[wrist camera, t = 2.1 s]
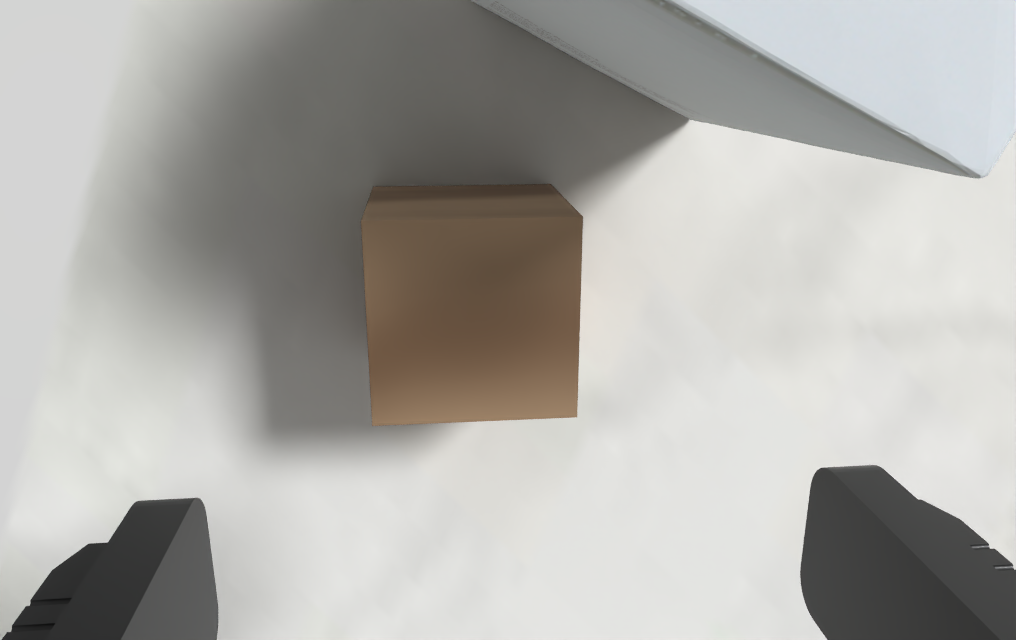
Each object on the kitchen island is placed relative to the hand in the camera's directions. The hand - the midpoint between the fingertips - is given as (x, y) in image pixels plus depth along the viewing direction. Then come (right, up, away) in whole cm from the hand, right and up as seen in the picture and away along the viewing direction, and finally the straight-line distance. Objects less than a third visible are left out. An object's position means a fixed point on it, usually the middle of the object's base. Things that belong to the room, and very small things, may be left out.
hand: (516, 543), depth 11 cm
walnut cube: (-1, +4, +13) cm, 14 cm away
